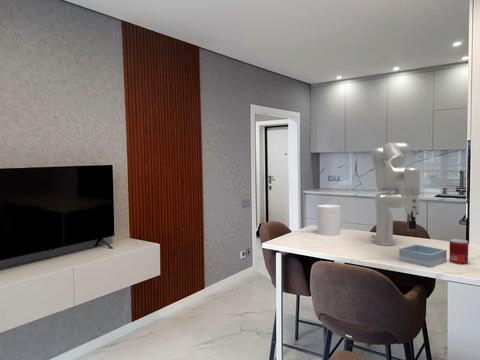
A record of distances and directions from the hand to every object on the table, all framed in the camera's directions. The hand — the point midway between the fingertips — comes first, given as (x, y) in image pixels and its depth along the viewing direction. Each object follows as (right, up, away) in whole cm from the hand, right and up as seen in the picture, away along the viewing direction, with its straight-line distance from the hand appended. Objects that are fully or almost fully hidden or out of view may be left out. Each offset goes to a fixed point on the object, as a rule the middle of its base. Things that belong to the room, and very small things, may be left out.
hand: (411, 227), depth 183 cm
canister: (-24, -14, +75) cm, 80 cm away
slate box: (+6, -17, 0) cm, 18 cm away
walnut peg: (0, -2, 0) cm, 2 cm away
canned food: (+22, -17, -3) cm, 28 cm away
